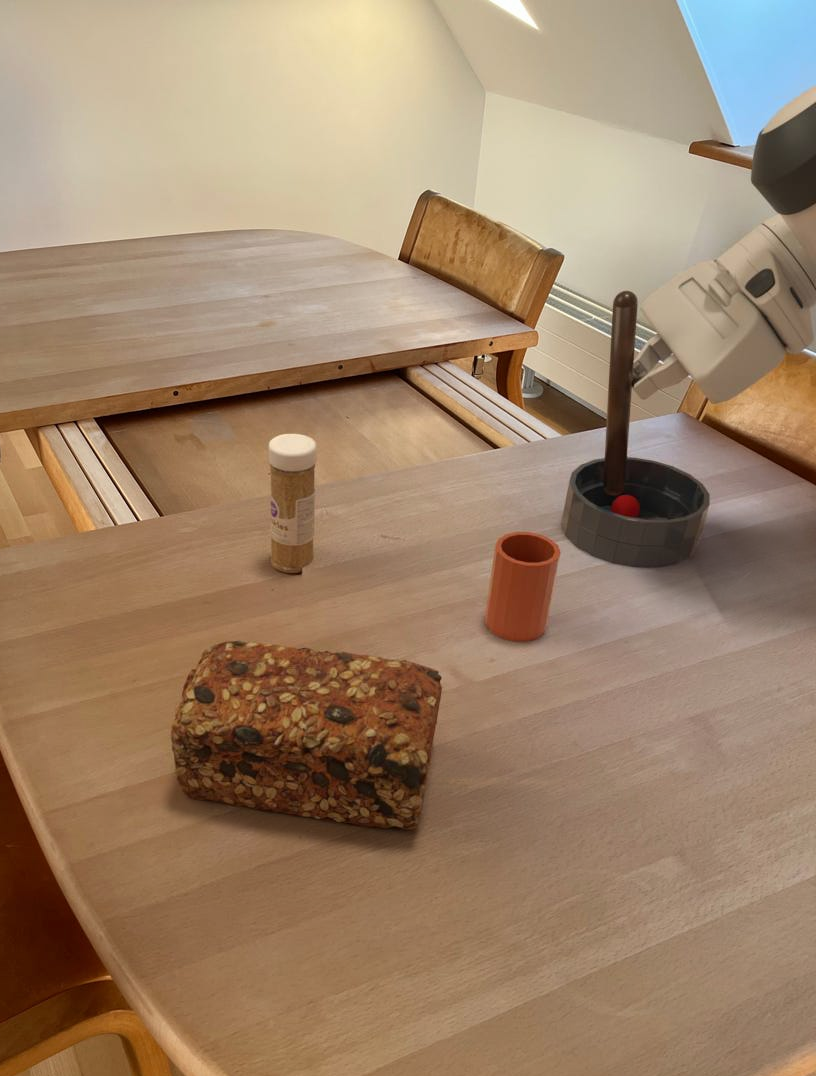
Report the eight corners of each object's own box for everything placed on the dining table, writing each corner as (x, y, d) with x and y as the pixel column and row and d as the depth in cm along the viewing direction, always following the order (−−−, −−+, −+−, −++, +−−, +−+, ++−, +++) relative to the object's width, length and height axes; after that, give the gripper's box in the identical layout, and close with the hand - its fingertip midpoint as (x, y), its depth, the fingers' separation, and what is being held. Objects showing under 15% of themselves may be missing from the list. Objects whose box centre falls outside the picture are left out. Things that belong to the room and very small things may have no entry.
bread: (437, 746, 78) (448, 648, 72) (418, 846, 70) (429, 745, 63) (215, 710, 81) (208, 613, 75) (171, 802, 72) (159, 701, 66)
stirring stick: (620, 487, 102) (634, 286, 90) (627, 497, 101) (641, 293, 88) (600, 490, 103) (610, 289, 90) (605, 500, 101) (617, 297, 88)
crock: (538, 612, 93) (553, 532, 88) (549, 648, 89) (565, 565, 83) (480, 612, 93) (491, 531, 87) (488, 647, 88) (500, 565, 83)
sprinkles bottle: (261, 561, 99) (258, 440, 91) (295, 546, 101) (295, 427, 93) (289, 580, 96) (289, 457, 88) (324, 564, 99) (326, 443, 91)
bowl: (673, 505, 110) (686, 457, 107) (713, 574, 99) (729, 523, 95) (549, 503, 110) (558, 455, 106) (575, 572, 99) (586, 521, 95)
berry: (632, 514, 107) (638, 490, 106) (639, 528, 105) (645, 503, 103) (605, 513, 107) (611, 489, 106) (612, 527, 105) (617, 503, 103)
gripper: (706, 228, 95) (590, 325, 101) (785, 296, 79) (640, 407, 85) (739, 275, 98) (623, 367, 104) (821, 350, 82) (679, 454, 88)
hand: (631, 385), depth 94 cm, fingers closed on stirring stick, 2 cm apart
